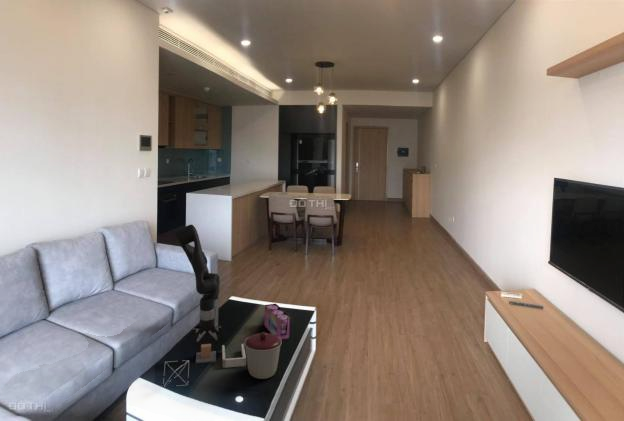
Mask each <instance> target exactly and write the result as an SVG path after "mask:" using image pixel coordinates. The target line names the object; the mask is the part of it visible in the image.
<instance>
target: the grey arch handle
mask: <svg viewBox="0 0 624 421" xmlns="http://www.w3.org/2000/svg"><path fill="white" fill-rule="evenodd" d="M221 349H222V350H221V354H222V356H221V358H222V368H223V369H224V368H234V367H235V368H236V367H237V368H238V367H247V366H246V365H247V354H246V348H245V344H244V343H241V351H240V352H241V357H232V358H226V348H225V344H222V345H221Z"/></svg>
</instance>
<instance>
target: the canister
mask: <svg viewBox="0 0 624 421" xmlns="http://www.w3.org/2000/svg"><path fill="white" fill-rule="evenodd" d="M282 340H283V339H280V338H279V337H278V336H276V335H273V334H271V332H269V333H268V332H265V331H262V332H259V333H255V334H251V335H250V336H248V337H246V339H245V340H244V342H243V344H244V347H245V355H246V365H247V370H248V373H249V375H250V376H251V377H252V378H254V379H258V380H267V379H269V378H271V377H273V376H274V375H275V374H276V372H277V368H278V364H279V357H280V351H281V346H282V343H283V342H282Z"/></svg>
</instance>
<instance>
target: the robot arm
mask: <svg viewBox="0 0 624 421" xmlns="http://www.w3.org/2000/svg"><path fill="white" fill-rule="evenodd" d="M174 235H175V237H174V238H175V239H176V241H177V242H178V244H179V245H180V247H181V248H182V250H183V251H184V253H185V255H186V257H187V259H188V261H189V263H190V265H191V267H192V270H193V273H194V277H195V278H194V279H195V288H196V291H197V294H199V295H202V297H201V298H200V300H199V316H198V317H199V327H198V328H197V327H193V332H192V341H194V342H196V348H198V349H199V348H200V340H201V339H202V338H203V337H213V339H214V347H215V348H216V347H217V346H218V345H219V344H218V343H219V342H218V341H219V340H220V339H222V326H221V325H219V295H220V281H221V280H220V276H219V274H218V273H215V272H214V273H213V272H210V270H209V268H208V258H207V257H206V255H205V252H204V251H203V248H202V244H201V240H200V237H199V234H198V230H197V229H196V227H195V226H194V225H193V224H188V225H185V226H183V227H180V228H178V229H176V230H175V232H174ZM191 243H193V246H192V245H190V244H191ZM215 331H217V332H218V335H217V334H216V332H215ZM198 332H199V334H198V336H196V334H197V333H198Z"/></svg>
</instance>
